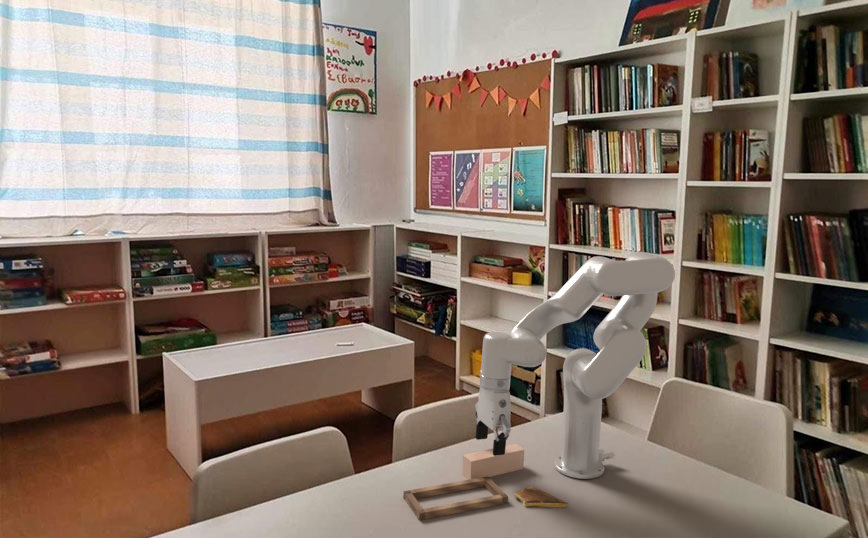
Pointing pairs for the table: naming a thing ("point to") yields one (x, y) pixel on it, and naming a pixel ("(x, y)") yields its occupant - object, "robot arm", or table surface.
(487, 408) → the robot arm
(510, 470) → the pink rectangular block
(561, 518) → the table surface
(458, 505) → the brown wooden frame
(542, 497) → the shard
